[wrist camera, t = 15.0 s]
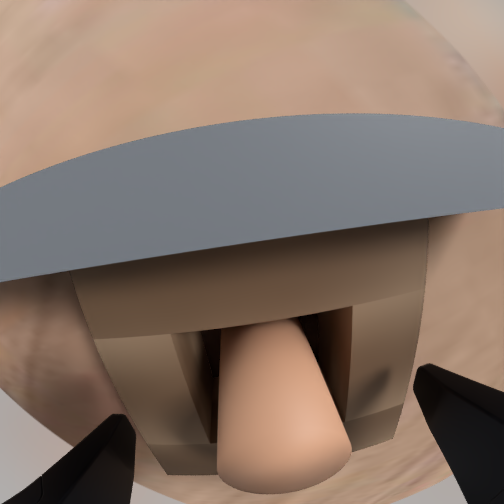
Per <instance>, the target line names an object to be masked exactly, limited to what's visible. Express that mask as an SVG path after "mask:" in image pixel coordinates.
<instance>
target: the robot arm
mask: <svg viewBox="0 0 504 504" xmlns="http://www.w3.org/2000/svg"><path fill="white" fill-rule="evenodd" d="M413 390H414V394H415V396H416V398H417V400H418V403H419V405H420V408H421V410H422V412H423V415H424V417H425V420H426V422H427V424H428V427H429V429H430V431H431V433H432V434H433V436H434V438H435V440H436V442H437V444H438V446H439V447H440V449H441V451H442V453H443V455H444V457H445V459H446V461H447V463H448V465H449V466H450V468H451V470H452V472H453V474H454V476H455V478H456V480H457V482H458V484H459V486H460V488H461V491H462V493H463V495H464V496H465V499H466V501H467V503H468V504H504V392H502V391H499V390H497V389H494V388H491V387H489V386H486V385H484V384H481V383H478V382H476V381H473V380H471V379H468V378H466V377H463V376H461V375H458V374H456V373H453V372H451V371H448V370H446V369H443V368H441V367H438V366H436V365H433V364H430V363H428V364H425V365H422V366H420V367H419V368H418V369H417V372H416V376H415V380H414V384H413ZM135 446H136V433H135V430H134V429H133V427H132V425H131V423H130V422H129V420H128V418H127V417H126V416H125V415H124V414H112V415H110V416H109V417H108V418H107V419H106V420H105V421H103V422H102V423H101V424H100V425H99V426H98V427H97V428H96V429H94V430H93V431H92V432H91V433H90V434H89V435H88V436H86V437H85V438H84V439H83V440H82V441H81V442H80V443H78V444H77V445H76V446H75V447H74V448H73V449H72V450H70V451H69V452H68V453H67V454H66V455H65V456H63V457H62V458H61V459H60V460H59V461H58V462H56V463H55V464H54V465H53V466H52V467H51V468H49V469H48V470H47V471H46V472H45V473H44V474H42V476H40V477H39V478H37V479H36V480H35V481H34V482H33V483H31V484H30V485H29V486H27V487H26V488H25V489H24V490H22V491H21V492H19V493H18V494H16V495H15V496H13V497H12V498H10V499H9V500H7V501H5V502H4V503H2V504H130V499H131V493H132V486H133V479H134V465H135Z"/></svg>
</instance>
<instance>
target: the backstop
mask: <svg viewBox="0 0 504 504" xmlns="http://www.w3.org/2000/svg"><path fill="white" fill-rule="evenodd" d="M500 208H504V128H500V127H495V126H490V125H485V124H479V123H473V122H466V121H459V120H452V119H443V118H434V117H423V116H411V115H394V114H313V115H296V116H282V117H271V118H261V119H252V120H243V121H236V122H228V123H221V124H215V125H209V126H203V127H197V128H191V129H186V130H181V131H176V132H171V133H166V134H162V135H157V136H153V137H148V138H144V139H140V140H136V141H132V142H128V143H124V144H120V145H117V146H113V147H110V148H106V149H103V150H99V151H96V152H93V153H89V154H86V155H83V156H80V157H77V158H74V159H71V160H68V161H65V162H62V163H59V164H57V165H54V166H51V167H49V168H46V169H43V170H41V171H38V172H36V173H33V174H31V175H28V176H26V177H23V178H21V179H18V180H16V181H14V182H12V183H9V184H7V185H5V186H3V187H0V282H4V281H9V280H15V279H21V278H27V277H33V276H39V275H45V274H51V273H57V272H63V271H69V270H75V269H81V268H87V267H94V266H100V265H106V264H112V263H119V262H125V261H131V260H138V259H144V258H150V257H157V256H163V255H170V254H176V253H183V252H189V251H196V250H202V249H209V248H216V247H222V246H229V245H236V244H243V243H249V242H256V241H263V240H270V239H277V238H284V237H291V236H298V235H305V234H312V233H319V232H326V231H333V230H340V229H347V228H355V227H362V226H369V225H377V224H384V223H391V222H399V221H406V220H414V219H421V218H429V217H437V216H445V215H452V214H460V213H468V212H476V211H484V210H492V209H500Z"/></svg>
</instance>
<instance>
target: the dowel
mask: <svg viewBox="0 0 504 504" xmlns="http://www.w3.org/2000/svg"><path fill="white" fill-rule="evenodd" d="M351 453H352V446H351V443H350V441H349V438H348V436H347V433H346V431H345V428H344V426H343V423H342V421H341V419H340V416H339V414H338V411H337V409H336V406H335V404H334V402H333V399H332V397H331V394H330V392H329V390H328V387H327V385H326V382H325V380H324V378H323V375H322V373H321V371H320V368H319V366H318V364H317V361H316V359H315V356H314V354H313V352H312V349H311V347H310V345H309V342H308V340H307V338H306V335H305V333H304V331H303V328H302V326H301V324H300V321H299V319H298V317H292V318H286V319H280V320H274V321H267V322H261V323H254V324H247V325H241V326H233V327H226V328H221V348H220V372H219V400H218V436H217V472H218V475H219V476H220V478H221V479H222V480H223V481H224V482H225V483H226V484H228V485H229V486H231V487H233V488H236V489H238V490H241V491H245V492H250V493H256V494H282V493H289V492H294V491H299V490H302V489H306V488H309V487H312V486H314V485H317V484H319V483H321V482H323V481H325V480H327V479H328V478H330V477H332V476H333V475H335V474H336V473H337V472H338V471H340V470H341V469H342V468H343V467H344V466H345V464H346V463H347V462H348V460H349V458H350V456H351Z"/></svg>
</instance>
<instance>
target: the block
mask: <svg viewBox="0 0 504 504" xmlns="http://www.w3.org/2000/svg"><path fill="white" fill-rule="evenodd" d="M427 255H428V218H421V219H414V220H406V221H399V222H391V223H384V224H377V225H369V226H362V227H355V228H347V229H340V230H333V231H326V232H319V233H312V234H305V235H298V236H291V237H284V238H277V239H270V240H263V241H256V242H249V243H243V244H236V245H229V246H222V247H216V248H209V249H202V250H196V251H189V252H183V253H176V254H170V255H163V256H157V257H150V258H144V259H138V260H131V261H125V262H119V263H112V264H106V265H100V266H94V267H87V268H81V269H75V270H69V272H70V275H71V278H72V282H73V285H74V288H75V291H76V294H77V297H78V300H79V303H80V306H81V309H82V312H83V314H84V317H85V320H86V322H87V325H88V328H89V330H90V333H91V335H92V338H93V340H94V343H95V345H96V347H97V350H98V352H99V354H100V357H101V359H102V361H103V363H104V366H105V368H106V370H107V372H108V374H109V376H110V378H111V380H112V383H113V385H114V387H115V389H116V391H117V393H118V394H119V396H120V398H121V400H122V402H123V404H124V406H125V408H126V410H127V411H128V413H129V415H130V417H131V418H132V420H133V422H134V424H135V425H136V427H137V429H138V430H139V432H140V434H141V435H142V437H143V439H144V440H145V442H146V443H147V445H148V447H149V448H150V450H151V451H152V453H153V454H154V456H155V457H156V459H157V460H158V462H159V463H160V465H161V466H162V468H163V469H164V470H165V472H166V473H167V475H218V472H217V436H218V400H219V378H213V375H212V371H211V368H210V364H209V360H208V357H207V353H206V349H205V345H204V341H203V338H202V334H201V331H202V330H210V329H218V328H226V327H233V326H241V325H247V324H254V323H261V322H267V321H274V320H280V319H286V318H292V317H297V316H303V315H308V314H314V313H318V331H319V362H317V364H318V366H319V368H320V371H321V373H322V375H323V378H324V380H325V382H326V385H327V387H328V390H329V392H330V394H331V397H332V399H333V402H334V404H335V406H336V409H337V411H338V414H339V416H340V419H341V421H342V423H343V426H344V428H345V431H346V433H347V436H348V438H349V441H350V443H351V446H352V452H354V451H357V450H361V449H364V448H367V447H370V446H373V445H376V444H379V443H382V442H385V441H388V440H390V439H393V437H394V434H395V431H396V428H397V425H398V421H399V418H400V415H401V411H402V408H403V404H404V401H405V397H406V393H407V389H408V385H409V381H410V377H411V372H412V368H413V363H414V358H415V353H416V348H417V343H418V337H419V331H420V324H421V318H422V310H423V302H424V293H425V283H426V271H427Z"/></svg>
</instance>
